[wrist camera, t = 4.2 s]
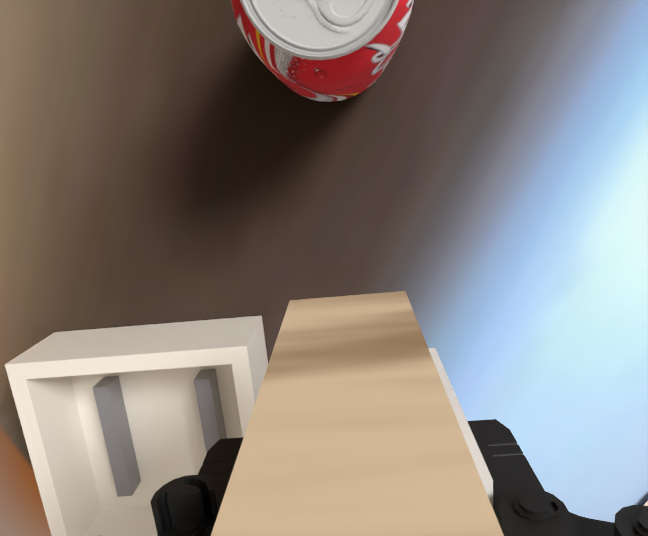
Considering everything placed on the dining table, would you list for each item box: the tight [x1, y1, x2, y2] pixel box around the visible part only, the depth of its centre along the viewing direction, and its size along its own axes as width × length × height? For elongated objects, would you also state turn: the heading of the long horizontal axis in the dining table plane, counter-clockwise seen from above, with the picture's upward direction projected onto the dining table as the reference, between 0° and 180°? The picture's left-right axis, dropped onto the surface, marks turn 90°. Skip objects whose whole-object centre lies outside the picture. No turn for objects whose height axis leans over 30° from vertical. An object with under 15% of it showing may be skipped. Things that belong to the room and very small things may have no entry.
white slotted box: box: [5, 316, 268, 536], centre depth 32 cm, size 14×14×5 cm
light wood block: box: [211, 291, 504, 536], centre depth 12 cm, size 6×4×12 cm, turn 6°
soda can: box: [231, 0, 414, 102], centre depth 22 cm, size 7×7×12 cm
